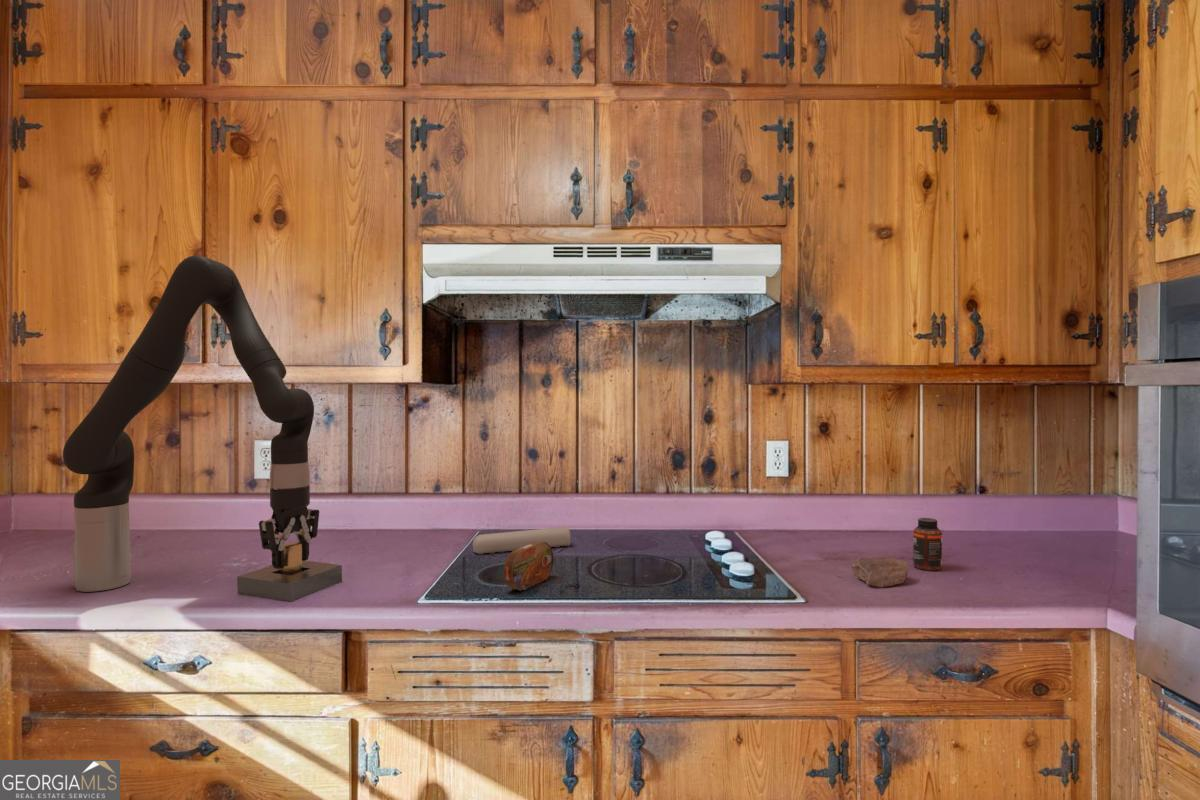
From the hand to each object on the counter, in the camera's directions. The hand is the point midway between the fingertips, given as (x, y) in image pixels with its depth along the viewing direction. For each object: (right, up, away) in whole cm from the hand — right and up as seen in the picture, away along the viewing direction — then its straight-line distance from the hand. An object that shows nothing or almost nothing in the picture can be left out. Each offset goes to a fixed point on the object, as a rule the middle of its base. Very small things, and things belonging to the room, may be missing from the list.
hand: (291, 563), depth 136 cm
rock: (+125, -5, +4) cm, 125 cm away
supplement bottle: (+141, -5, +14) cm, 141 cm away
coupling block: (0, -5, 0) cm, 5 cm away
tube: (+44, -5, +31) cm, 55 cm away
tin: (+50, -5, +2) cm, 50 cm away
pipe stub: (0, -5, 0) cm, 5 cm away
